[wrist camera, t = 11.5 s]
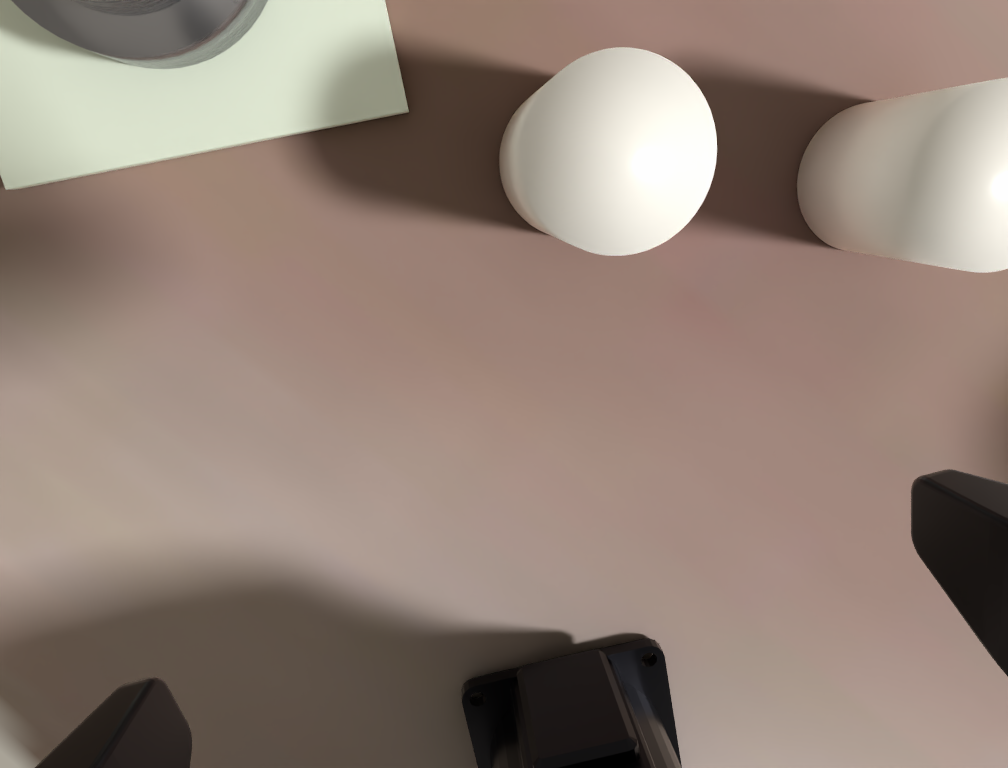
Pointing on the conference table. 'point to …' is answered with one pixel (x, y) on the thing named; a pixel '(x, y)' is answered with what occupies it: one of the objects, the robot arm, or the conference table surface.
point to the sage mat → (190, 91)
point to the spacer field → (821, 178)
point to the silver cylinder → (148, 27)
